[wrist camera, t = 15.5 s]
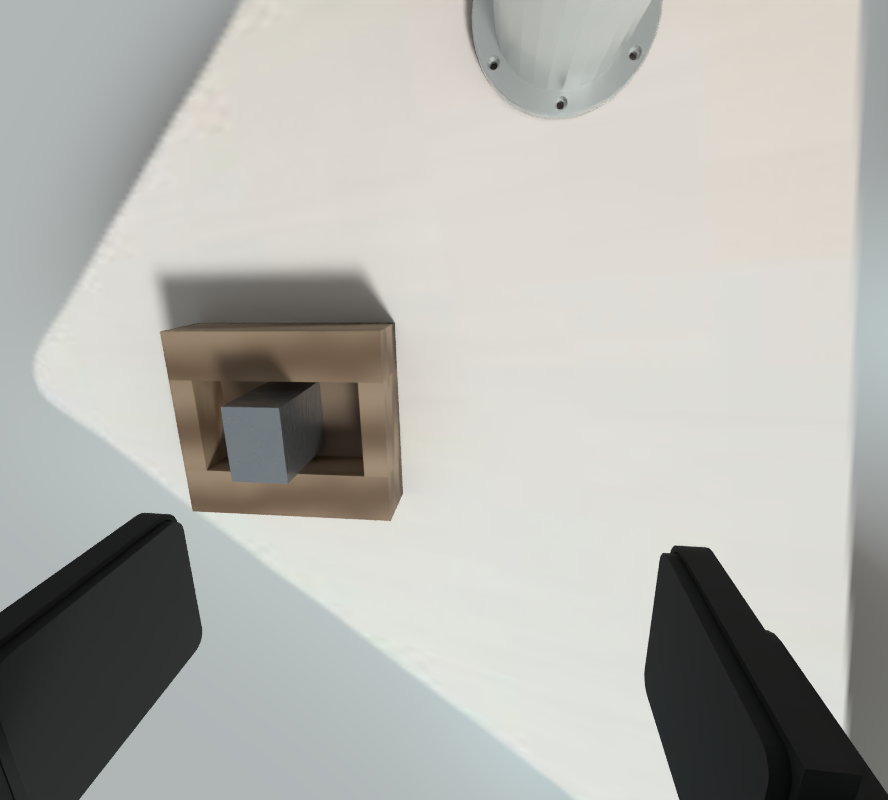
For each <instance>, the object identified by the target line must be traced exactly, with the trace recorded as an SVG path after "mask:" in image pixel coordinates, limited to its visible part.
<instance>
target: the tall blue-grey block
mask: <svg viewBox="0 0 888 800" xmlns="http://www.w3.org/2000/svg"><path fill="white" fill-rule="evenodd" d="M221 413H222V420H223V426H224V433H225V439H226V446H227V453H228V459H229V466H230V472H231V479H232V482H251V483H275V484H288V483H289V482H290V481H291V480H292V479H293V478H294V477H295V476H296V475H297V474H298V473H299V472H300V471H301V470H302V469H303V468H304V467H305V466H306V465H307V464H308V463H309V462H310V461H311V460H312V459H313V458H314V457H315V455H316V454H317V453H318V452H319V451H320V450H321V449H322V448H323V447H324V446H325V445H326V444H325V433H324V422H323V411H322V400H321V390H320V382H267V383H265V384H263V385H261V386H259V387H257V388H255V389H254V390H252V391H250V392H248V393H246V394H244V395H242V396H240V397H238V398H236V399H234V400H233V401H231V402H229V403H227V404H225V405H223V406H221Z"/></svg>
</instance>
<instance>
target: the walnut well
mask: <svg viewBox="0 0 888 800" xmlns="http://www.w3.org/2000/svg"><path fill="white" fill-rule="evenodd" d="M160 334H161V340H162V345H163V351H164V356H165V362H166V367H167V373H168V378H169V383H170V389H171V394H172V400H173V405H174V411H175V416H176V422H177V427H178V433H179V438H180V444H181V449H182V455H183V460H184V466H185V471H186V477H187V482H188V488H189V493H190V499H191V504H192V509H193V511H199V512H220V513H240V514H261V515H281V516H302V517H323V518H343V519H364V520H385V521H391V519H392V517H393V514H394V512H395V510H396V508H397V505H398V503H399V501H400V499H401V496H402V494H403V486H402V466H401V445H400V424H399V403H398V382H397V361H396V340H395V323H197V324H193V325H188V326H184V327H179V328H174V329H170V330H165V331H161V332H160ZM267 382H320V390H321V400H322V411H323V422H324V433H325V444H326V445H325V446H324V447H323V448H322V449H321V450H320V451H319V452H318V453H317V454H316V455H315V457H314V458H313V459H312V460H311V461H310V462H309V463H308V464H307V465H306V466H305V467H304V468H303V469H302V470H301V471H300V472H299V473H298V474H297V475H296V476H295V477H294V478H293V479H292V480H291V481H290V482H289V483H288V484H275V483H251V482H232V479H231V472H230V466H229V459H228V453H227V446H226V439H225V433H224V426H223V420H222V413H221V406H223V405H225V404H227V403H229V402H231V401H233V400H234V399H236V398H238V397H240V396H242V395H244V394H246V393H248V392H250V391H252V390H254V389H255V388H257V387H259V386H261V385H263V384H265V383H267Z"/></svg>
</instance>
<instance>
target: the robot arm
mask: <svg viewBox="0 0 888 800" xmlns="http://www.w3.org/2000/svg"><path fill="white" fill-rule="evenodd" d="M662 1H663V0H473V6H472V31H473V41H474V46H475V51H476V55H477V57H478V60H479V63H480V66H481V69H482V71H483V73H484V75H485V76H486V78H487V80H488V81H489V83H490V85H491V86H492V87H493V89H494V90H495V91H496V92H497V93H498V94H499V95H500V97H501V98H502V99H503V100H505V101H506V102H508V103H509V104H510V105H512V106H513V107H514V108H516V109H518V110H520V111H522V112H524V113H526V114H529V115H531V116H536V117H540V118H545V119H565V118H570V117H575V116H580V115H582V114H585V113H587V112H589V111H592V110H594V109H596V108H598V107H600V106H601V105H603V104H604V103H606V102H607V101H609V100H610V99H612V98H613V97H614V96H615V95H616V94H617V93H618V92H619V91H621V90H622V89H623V88H624V87H625V86H626V85H627V84H628V82H629V81H630V80H631V78H632V77H633V76H634V75H635V73H636V72H637V71H638V69H639V68H640V66H641V65H642V63H643V62H644V60H645V58H646V57H647V55H648V52H649V50H650V48H651V46H652V43H653V41H654V39H655V36H656V33H657V29H658V25H659V21H660V18H661V13H662ZM630 54H634V55H635V57H636V59H635V60H631V59H630V58H629V55H630ZM492 64H496V65H497V68H496V69H495V70H492V69H491V68H490V66H491V65H492ZM558 103H562V104H563V106H564V107H563V109H561V110H559V109H558V108H557V106H556V105H557V104H558ZM201 638H202V626H201V621H200V615H199V610H198V605H197V599H196V594H195V588H194V583H193V577H192V572H191V567H190V562H189V556H188V551H187V545H186V540H185V534H184V529H183V526H182V525H181V524H180V523H178V522H177V520H176V519H175V517H174V516H172V515H170V514H155V513H141V514H139V515H137V516H136V517H134V518H133V519H131V520H130V521H128V522H127V523H126V524H124V525H123V526H121V527H120V528H118V529H117V530H116V531H114V532H113V533H111V534H110V535H109V536H107V537H106V538H104V539H103V540H102V541H100V542H99V543H97V544H96V545H95V546H93V547H92V548H90V549H89V550H87V551H86V552H85V553H83V554H82V555H81V556H79V557H78V558H76V559H75V560H73V561H72V562H71V563H69V564H68V565H66V566H65V567H63V568H62V569H61V570H59V571H58V572H57V573H55V574H54V575H52V576H51V577H49V578H48V579H47V580H45V581H44V582H42V583H41V584H39V585H38V586H37V587H35V588H34V589H32V590H31V591H30V592H28V593H27V594H25V595H24V596H23V597H22V598H20V599H18V600H17V601H16V602H14V603H13V604H11V605H10V606H9V607H7V608H6V609H4V610H3V611H1V612H0V800H79V799H80V798H81V796H82V795H83V794H84V793H85V791H86V790H87V789H88V788H89V786H90V785H91V784H92V782H93V781H94V780H95V779H96V777H97V776H98V775H99V773H100V772H101V771H102V770H103V768H104V767H105V766H106V765H107V763H108V762H109V760H110V759H111V758H112V757H113V756H114V754H115V753H116V752H117V751H118V749H119V748H120V747H121V745H122V744H123V743H124V742H125V740H126V739H127V738H128V737H129V735H130V734H131V733H132V731H133V730H134V729H135V728H136V726H137V725H138V724H139V722H140V721H141V720H142V719H143V717H144V716H145V715H146V714H147V712H148V711H149V710H150V708H151V707H152V706H153V705H154V703H155V702H156V701H157V699H158V698H159V697H160V696H161V694H162V693H163V692H164V691H165V689H166V688H167V687H168V686H169V684H170V683H171V682H172V681H173V679H174V678H175V677H176V675H177V674H178V673H179V671H180V670H181V669H182V668H183V666H184V665H185V664H186V663H187V661H188V660H189V659H190V658H191V656H192V655H193V654H194V652H195V651H196V650H197V648H198V646H199V644H200V642H201ZM644 677H645V688H646V693H647V697H648V700H649V703H650V706H651V710H652V713H653V716H654V719H655V722H656V726H657V729H658V732H659V735H660V739H661V742H662V745H663V748H664V752H665V755H666V758H667V761H668V765H669V768H670V771H671V774H672V778H673V781H674V784H675V787H676V790H677V794H678V797H679V800H888V794H887V793H886V791H885V790H884V788H883V787H882V786H881V784H880V783H879V781H878V780H877V778H876V777H875V775H874V774H873V773H872V771H871V770H870V768H869V767H868V766H867V764H866V762H865V761H864V760H863V758H862V757H861V755H860V754H859V753H858V751H857V750H856V748H855V747H854V745H853V744H852V742H851V741H850V739H849V738H848V737H847V735H846V734H845V732H844V731H843V729H842V728H841V727H840V725H839V724H838V722H837V721H836V719H835V718H834V716H833V715H832V714H831V712H830V711H829V709H828V708H827V706H826V705H825V704H824V702H823V701H822V699H821V698H820V696H819V695H818V693H817V692H816V691H815V689H814V688H813V686H812V685H811V683H810V682H809V681H808V679H807V678H806V676H805V675H804V673H803V672H802V670H801V669H800V668H799V666H798V665H797V663H796V662H795V660H794V659H793V658H792V656H791V655H790V653H789V652H788V650H787V649H786V647H785V646H784V645H783V643H782V642H781V641H780V639H779V638H778V637H777V636H776V635H775V634H774V633H772V632H770V631H768V630H765V629H764V628H763V626H762V625H761V623H760V622H759V620H758V619H757V617H756V616H755V614H754V613H753V611H752V610H751V608H750V607H749V605H748V604H747V602H746V601H745V599H744V598H743V596H742V595H741V593H740V592H739V590H738V589H737V587H736V586H735V584H734V583H733V582H732V580H731V579H730V577H729V576H728V574H727V573H726V571H725V570H724V568H723V567H722V565H721V564H720V562H719V561H718V559H717V558H716V556H715V555H714V553H713V552H712V551H711V550H710V549H709V548H706V547H691V546H674V547H672V550H671V552H670V553H663V554H662V555H661V557H660V561H659V569H658V576H657V583H656V591H655V598H654V605H653V613H652V620H651V627H650V635H649V642H648V649H647V657H646V664H645V673H644Z"/></svg>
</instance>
